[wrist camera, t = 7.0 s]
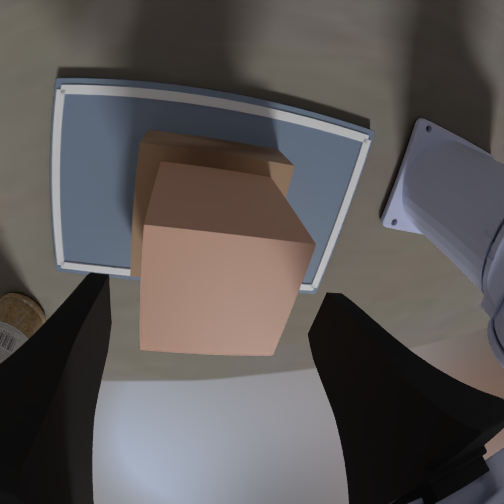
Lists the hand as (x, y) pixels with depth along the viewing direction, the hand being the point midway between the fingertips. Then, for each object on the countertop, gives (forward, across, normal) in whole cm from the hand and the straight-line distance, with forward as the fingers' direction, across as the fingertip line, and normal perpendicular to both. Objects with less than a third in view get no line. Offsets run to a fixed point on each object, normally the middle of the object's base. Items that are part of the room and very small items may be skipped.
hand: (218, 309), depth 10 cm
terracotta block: (+6, 0, 0) cm, 6 cm away
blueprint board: (+10, 0, 0) cm, 10 cm away
